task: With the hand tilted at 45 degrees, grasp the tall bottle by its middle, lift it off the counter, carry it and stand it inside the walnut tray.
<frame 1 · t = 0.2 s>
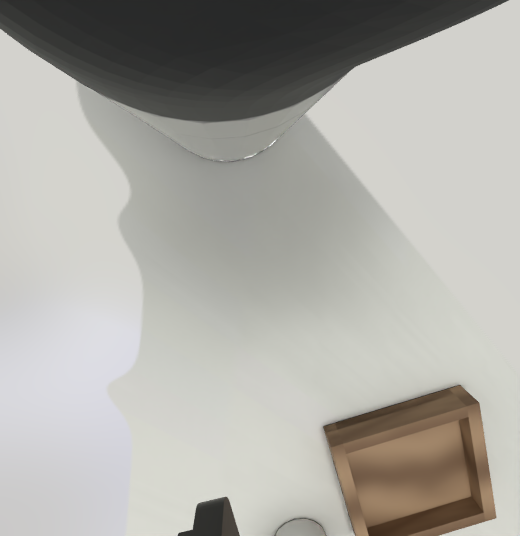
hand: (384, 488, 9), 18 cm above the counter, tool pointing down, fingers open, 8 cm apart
walnut tray: (404, 461, 31), on the counter
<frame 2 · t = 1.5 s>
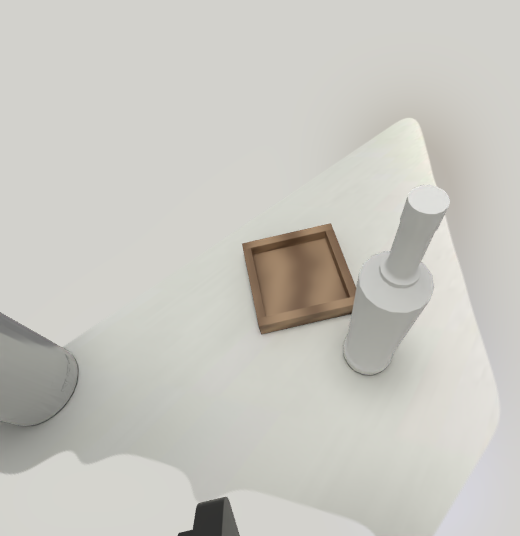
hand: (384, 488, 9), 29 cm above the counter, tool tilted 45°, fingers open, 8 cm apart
bottle: (365, 354, 40), on the counter
walnut tray: (298, 280, 45), on the counter
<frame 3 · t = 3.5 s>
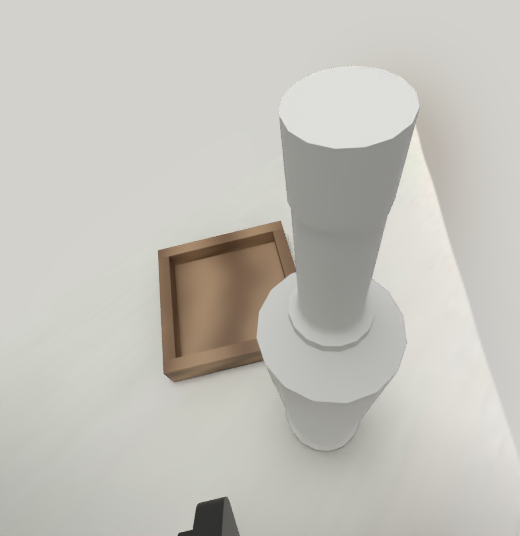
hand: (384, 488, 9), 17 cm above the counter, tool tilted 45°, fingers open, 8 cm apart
bottle: (322, 414, 26), on the counter
walnut tray: (233, 301, 32), on the counter
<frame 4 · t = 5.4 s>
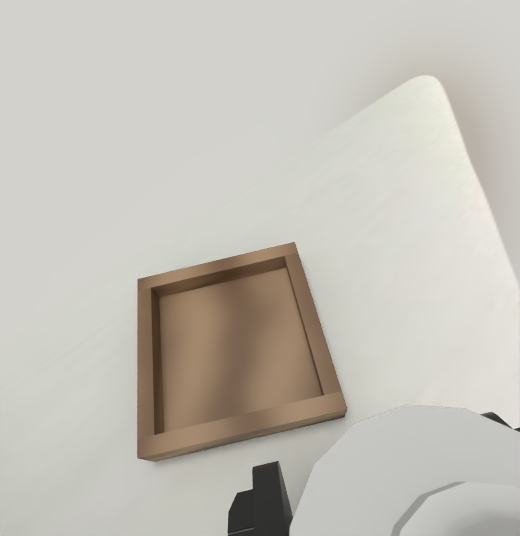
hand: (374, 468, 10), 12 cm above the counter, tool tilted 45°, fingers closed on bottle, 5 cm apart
bottle: (355, 519, 19), on the counter, touching gripper
walnut tray: (234, 347, 25), on the counter
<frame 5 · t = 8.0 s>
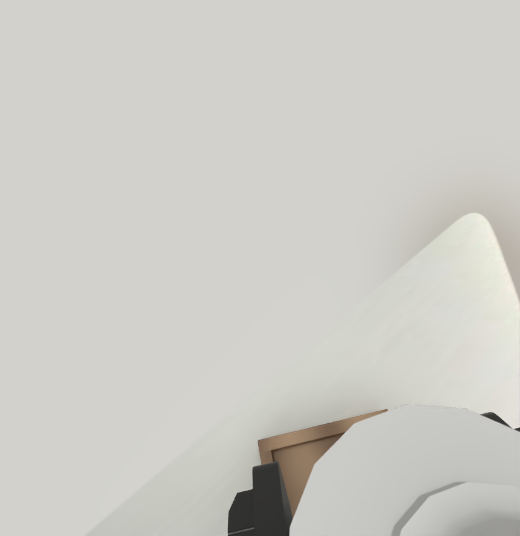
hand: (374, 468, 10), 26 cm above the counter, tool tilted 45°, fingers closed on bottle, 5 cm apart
bottle: (355, 518, 19), point 13 cm above the counter, touching gripper
walnut tray: (342, 502, 30), on the counter
when the fingers open (14 cm above the counter, at t = 10.7 s): bottle drops 1 cm, resting on walnut tray.
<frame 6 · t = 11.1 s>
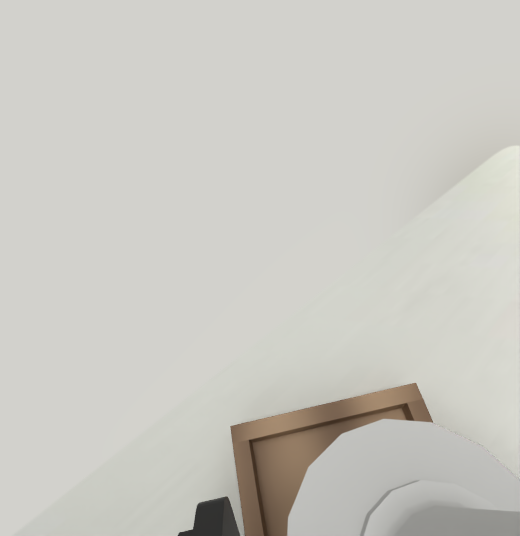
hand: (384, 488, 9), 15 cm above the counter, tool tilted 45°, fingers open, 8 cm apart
bottle: (352, 521, 20), point 1 cm above the counter, touching walnut tray
walnut tray: (351, 516, 21), on the counter
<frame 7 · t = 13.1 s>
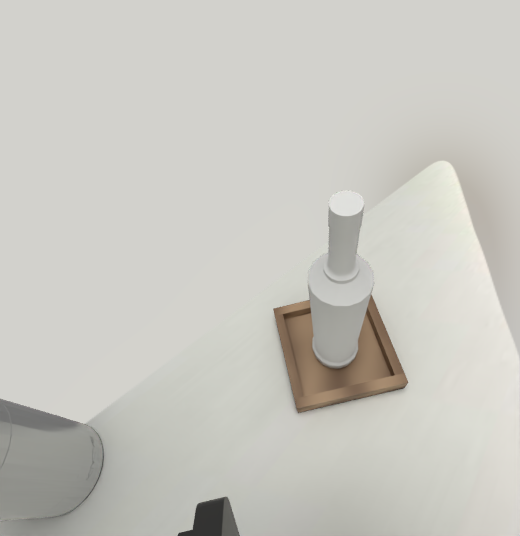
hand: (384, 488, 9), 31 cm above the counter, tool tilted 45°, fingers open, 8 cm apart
bottle: (334, 349, 42), point 1 cm above the counter, touching walnut tray
walnut tray: (334, 349, 42), on the counter
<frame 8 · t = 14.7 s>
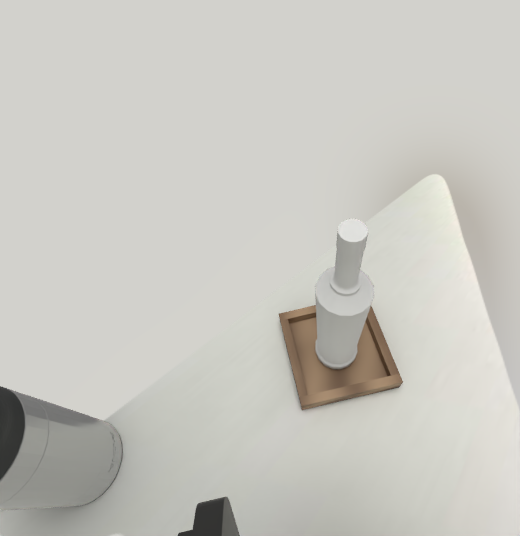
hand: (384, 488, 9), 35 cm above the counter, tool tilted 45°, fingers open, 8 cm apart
bottle: (335, 351, 45), point 1 cm above the counter, touching walnut tray
walnut tray: (335, 351, 46), on the counter
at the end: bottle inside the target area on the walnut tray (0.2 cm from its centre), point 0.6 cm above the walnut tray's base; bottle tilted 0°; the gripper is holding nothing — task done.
